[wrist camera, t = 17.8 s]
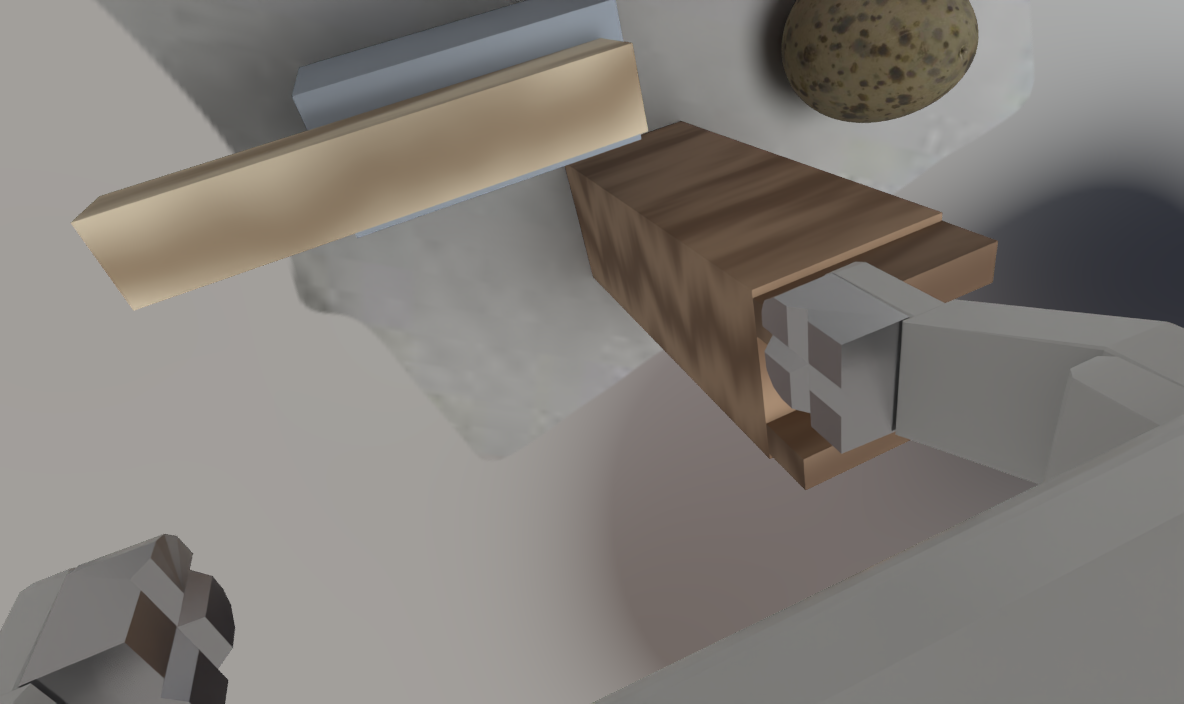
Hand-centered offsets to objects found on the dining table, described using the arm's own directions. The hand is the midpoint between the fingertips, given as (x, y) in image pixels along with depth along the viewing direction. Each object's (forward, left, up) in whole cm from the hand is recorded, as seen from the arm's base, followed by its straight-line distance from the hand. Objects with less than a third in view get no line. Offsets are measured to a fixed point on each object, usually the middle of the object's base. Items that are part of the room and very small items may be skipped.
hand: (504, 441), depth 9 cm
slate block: (+1, +5, -41) cm, 41 cm away
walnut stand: (+14, +17, -41) cm, 46 cm away
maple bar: (+2, 0, -27) cm, 27 cm away
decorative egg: (+6, +34, -41) cm, 54 cm away
